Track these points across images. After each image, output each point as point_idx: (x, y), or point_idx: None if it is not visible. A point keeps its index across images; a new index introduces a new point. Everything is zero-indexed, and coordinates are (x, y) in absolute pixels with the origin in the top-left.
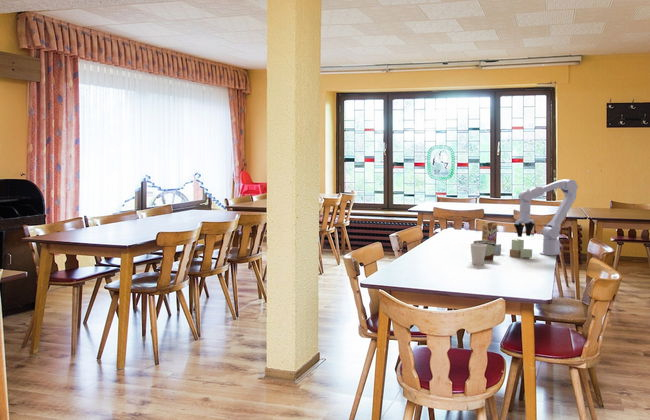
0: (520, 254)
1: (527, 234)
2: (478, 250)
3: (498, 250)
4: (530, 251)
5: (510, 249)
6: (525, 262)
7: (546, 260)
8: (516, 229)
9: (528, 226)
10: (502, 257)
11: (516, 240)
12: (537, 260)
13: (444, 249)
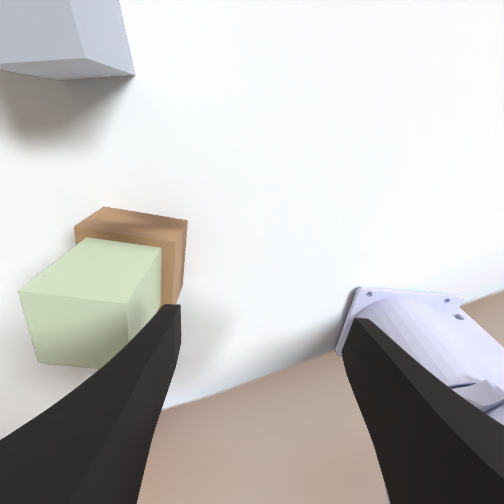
0: None
1: (355, 345)
2: None
3: (67, 72)
4: None
5: (78, 230)
6: (27, 365)
7: (177, 389)
8: (80, 391)
9: (425, 498)
10: (5, 204)
11: (33, 344)
12: None
13: None
